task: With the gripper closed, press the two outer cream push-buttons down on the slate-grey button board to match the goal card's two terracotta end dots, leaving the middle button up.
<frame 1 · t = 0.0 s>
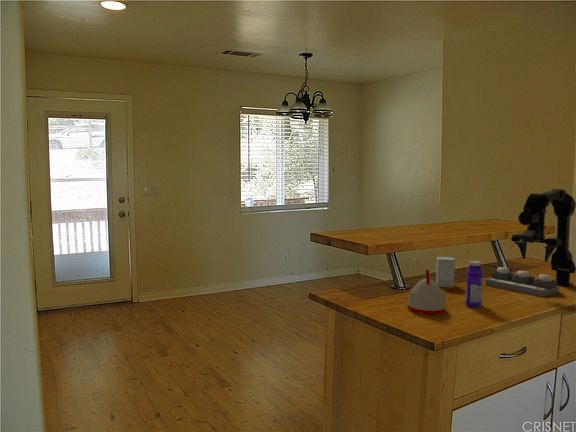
hand: (534, 260, 207), 15 cm above the table, fingers open, 9 cm apart
button mid: (523, 274, 218), point 6 cm above the table, slide at 0.0 cm
grey dome: (426, 310, 186), on the table
bottle: (473, 305, 191), on the table
button end2: (545, 278, 211), point 6 cm above the table, slide at 0.0 cm
supplement box: (444, 285, 223), on the table
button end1: (503, 271, 226), point 6 cm above the table, slide at 0.0 cm
button board: (521, 288, 218), on the table
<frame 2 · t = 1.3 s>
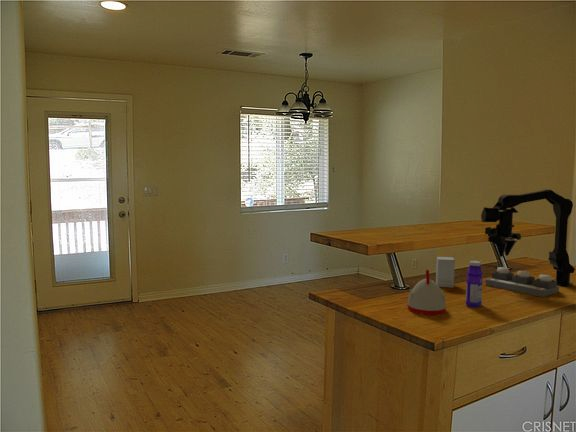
hand: (503, 256, 225), 13 cm above the table, fingers open, 5 cm apart
nothing on the table moved.
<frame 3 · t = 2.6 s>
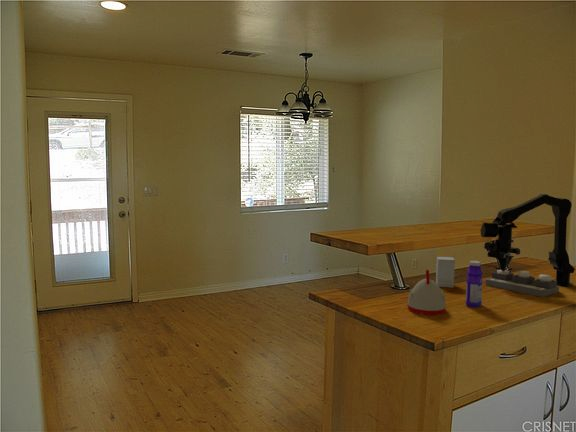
hand: (503, 270, 226), 6 cm above the table, fingers closed, pressing on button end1
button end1: (502, 273, 226), point 5 cm above the table, slide at 1.2 cm, touching gripper
everything else where it was.
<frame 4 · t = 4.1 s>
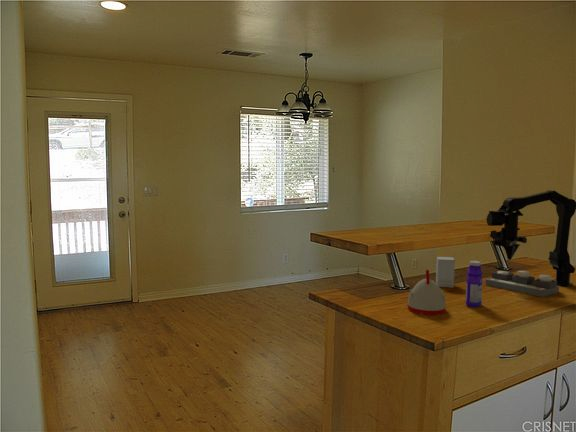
hand: (509, 259, 223), 12 cm above the table, fingers closed
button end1: (502, 274, 226), point 4 cm above the table, slide at 1.8 cm
everything else where it was.
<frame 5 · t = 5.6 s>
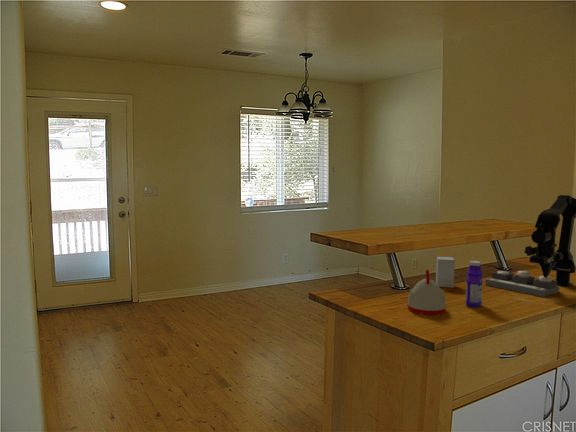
hand: (545, 277, 211), 7 cm above the table, fingers closed, pressing on button end2
button end2: (545, 280, 211), point 5 cm above the table, slide at 0.7 cm, touching gripper
everything else where it was.
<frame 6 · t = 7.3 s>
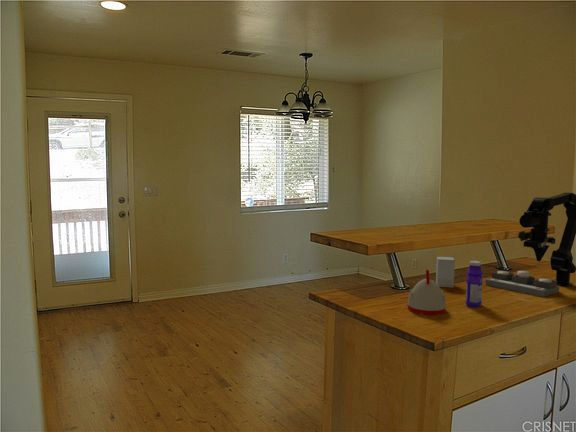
hand: (538, 261, 216), 12 cm above the table, fingers closed
button end2: (545, 282, 211), point 4 cm above the table, slide at 1.8 cm
everything else where it was.
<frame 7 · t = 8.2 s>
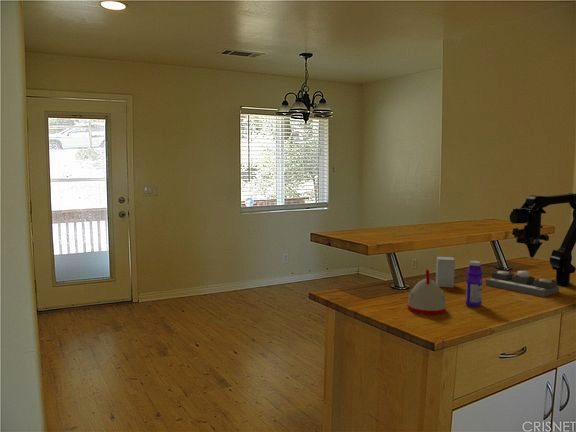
hand: (531, 257, 222), 13 cm above the table, fingers closed
nothing on the table moved.
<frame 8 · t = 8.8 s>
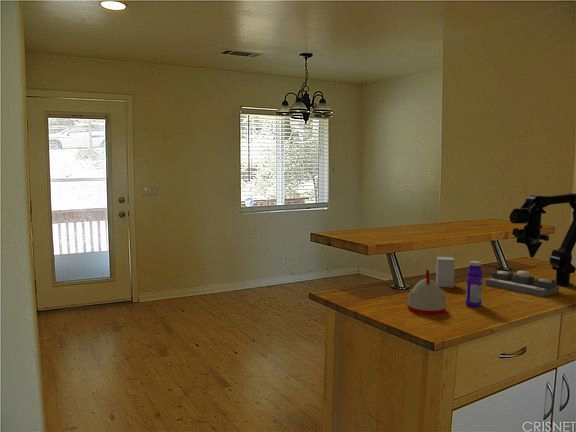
hand: (531, 257, 222), 13 cm above the table, fingers closed
nothing on the table moved.
at the end: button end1 slide at 1.8 cm; button end2 slide at 1.8 cm; button mid slide at 0.0 cm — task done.
